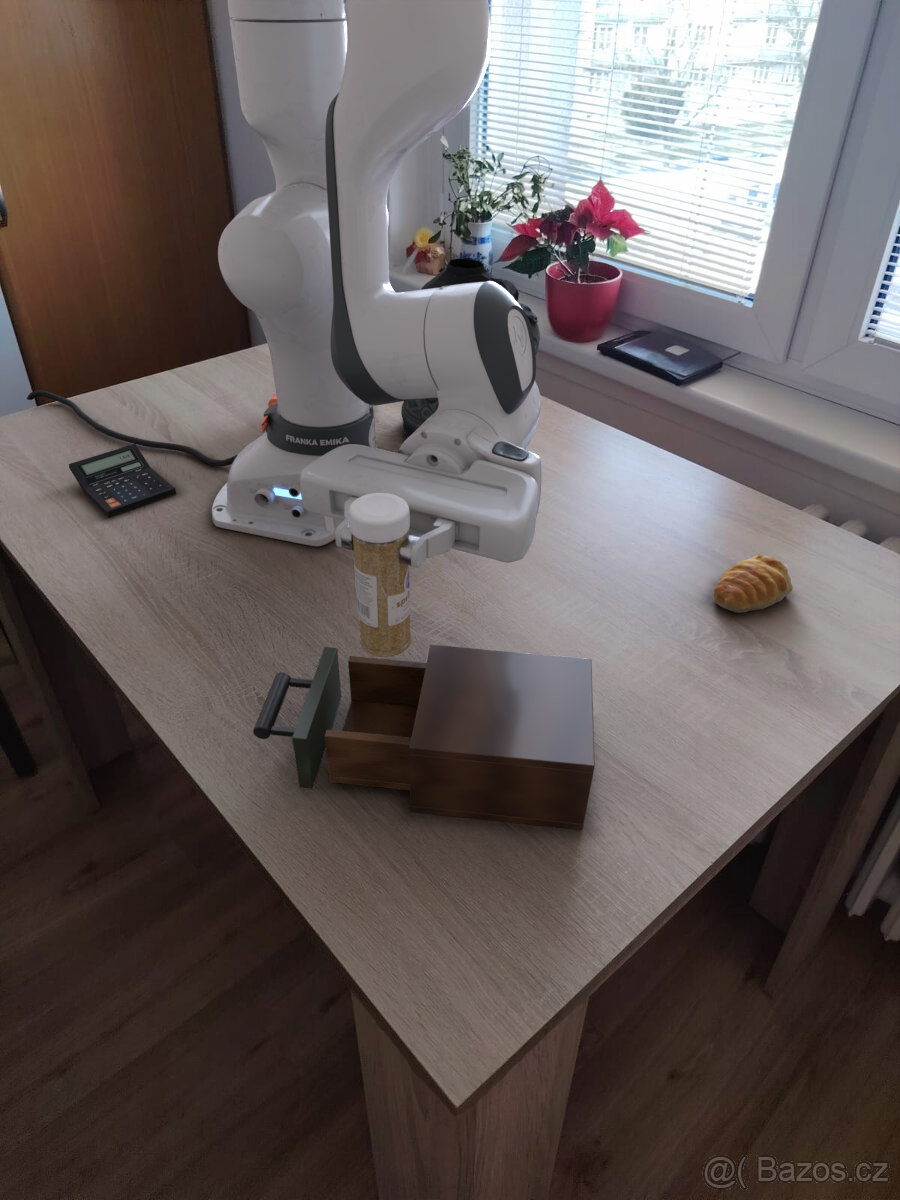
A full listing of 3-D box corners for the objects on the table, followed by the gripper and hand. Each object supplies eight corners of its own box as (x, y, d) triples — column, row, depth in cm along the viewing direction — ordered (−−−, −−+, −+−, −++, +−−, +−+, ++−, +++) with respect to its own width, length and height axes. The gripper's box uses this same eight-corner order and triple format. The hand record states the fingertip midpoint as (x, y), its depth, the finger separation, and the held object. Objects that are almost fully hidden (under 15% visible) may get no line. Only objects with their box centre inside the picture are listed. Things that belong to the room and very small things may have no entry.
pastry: (745, 627, 91) (753, 599, 88) (695, 597, 95) (702, 570, 93) (794, 595, 95) (803, 568, 93) (744, 568, 100) (752, 542, 97)
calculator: (108, 517, 106) (103, 497, 104) (73, 482, 113) (67, 462, 111) (176, 493, 111) (172, 474, 109) (138, 461, 118) (133, 442, 116)
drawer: (251, 783, 71) (241, 732, 67) (286, 691, 80) (279, 642, 76) (454, 804, 70) (456, 754, 66) (468, 708, 79) (470, 659, 75)
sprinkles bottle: (416, 655, 69) (414, 518, 60) (362, 663, 68) (352, 525, 60) (406, 621, 72) (403, 487, 64) (354, 628, 71) (344, 493, 63)
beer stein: (400, 408, 133) (397, 245, 118) (520, 407, 134) (532, 245, 119) (402, 456, 120) (398, 281, 105) (534, 455, 121) (550, 281, 106)
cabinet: (410, 812, 70) (409, 747, 65) (430, 707, 80) (430, 644, 75) (582, 830, 69) (594, 765, 64) (581, 721, 79) (591, 658, 74)
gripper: (342, 414, 74) (255, 484, 64) (559, 460, 68) (500, 546, 58) (347, 476, 78) (265, 551, 68) (552, 524, 72) (496, 615, 62)
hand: (375, 549), depth 63 cm, fingers closed on sprinkles bottle, 4 cm apart
